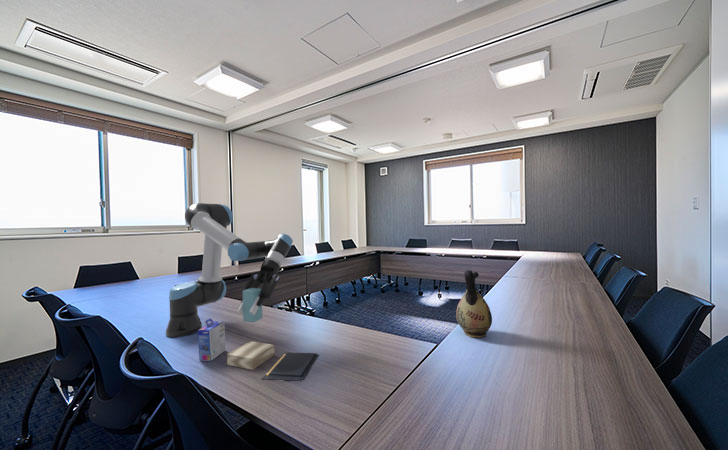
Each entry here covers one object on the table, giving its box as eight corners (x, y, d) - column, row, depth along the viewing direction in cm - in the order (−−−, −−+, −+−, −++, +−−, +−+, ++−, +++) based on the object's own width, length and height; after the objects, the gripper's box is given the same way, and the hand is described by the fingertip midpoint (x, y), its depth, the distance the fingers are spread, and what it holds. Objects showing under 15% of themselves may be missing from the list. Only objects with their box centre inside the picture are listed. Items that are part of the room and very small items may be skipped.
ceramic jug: (461, 325, 139) (460, 265, 139) (495, 332, 130) (494, 268, 130) (450, 337, 126) (449, 270, 125) (487, 345, 117) (485, 273, 116)
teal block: (243, 321, 109) (242, 290, 109) (252, 317, 114) (251, 287, 114) (253, 322, 108) (252, 291, 107) (262, 318, 112) (261, 288, 112)
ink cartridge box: (213, 349, 118) (213, 315, 118) (226, 350, 117) (225, 315, 117) (197, 361, 108) (196, 323, 108) (211, 361, 107) (210, 324, 107)
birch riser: (227, 364, 105) (227, 354, 105) (250, 350, 116) (250, 341, 116) (252, 369, 101) (252, 358, 101) (274, 354, 112) (274, 345, 112)
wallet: (302, 378, 92) (259, 375, 94) (302, 384, 92) (259, 381, 94) (320, 351, 112) (285, 349, 114) (320, 355, 112) (285, 354, 114)
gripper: (293, 269, 122) (270, 319, 107) (259, 268, 128) (233, 315, 113) (285, 258, 117) (260, 309, 102) (251, 258, 123) (222, 306, 108)
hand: (246, 312), depth 107 cm, fingers closed on teal block, 5 cm apart
